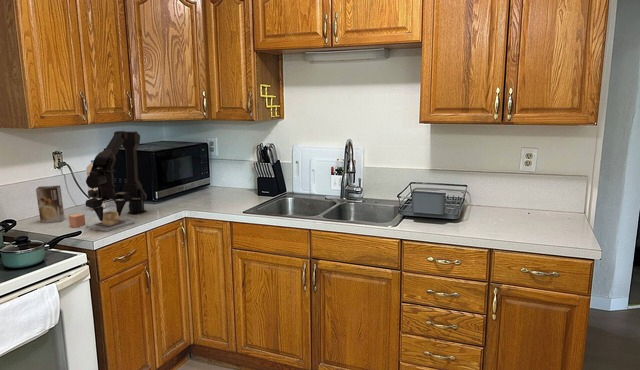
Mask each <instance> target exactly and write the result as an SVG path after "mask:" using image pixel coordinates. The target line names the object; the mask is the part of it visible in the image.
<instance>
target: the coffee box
mask: <svg viewBox="0 0 640 370" xmlns="http://www.w3.org/2000/svg"><path fill="white" fill-rule="evenodd" d="M35 193H36V194H35V195H36V200H37V206H38V213H39V221H40V224H45V223H46V224H47V223H48V224H49V223H57V222H58V223H59V222H60V223H61V222H63V221H64V220H65V218H66V217H65V212H64V211H65V210H64V202H63V197H62V196H63V195H62V188H61V185H46V186H45V185H44V186H38V187H37V188H36V189H35Z"/></svg>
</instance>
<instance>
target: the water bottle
mask: <svg viewBox="0 0 640 370" xmlns="http://www.w3.org/2000/svg"><path fill="white" fill-rule="evenodd" d="M93 162H94V159H91V160H90V163H89V164H88V165H87V167H86V168H85V170H86V178H87V177H88V176H89V175H90V172H91V168H92V165H93ZM87 188H88V190H87V192H88V191H89V190H94V191H97V190H98V189H97V188H98V187H97V188H94V189H92V188H90V187H88V186H87ZM88 198H89V197H88ZM89 199H93V198H89ZM89 199H88V200H89ZM96 199H101V198H96ZM102 206H103V210H104V209H105V207H106V202H105V203H102ZM90 210H93V209H92V208H90ZM93 211H94V210H93Z"/></svg>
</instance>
